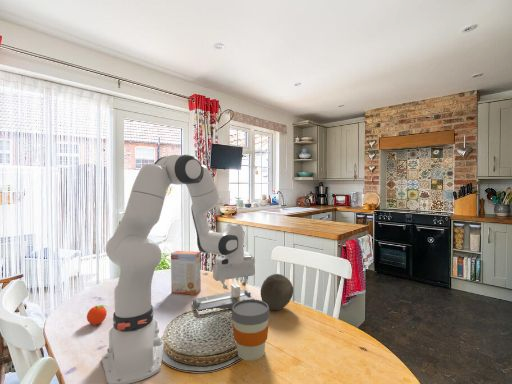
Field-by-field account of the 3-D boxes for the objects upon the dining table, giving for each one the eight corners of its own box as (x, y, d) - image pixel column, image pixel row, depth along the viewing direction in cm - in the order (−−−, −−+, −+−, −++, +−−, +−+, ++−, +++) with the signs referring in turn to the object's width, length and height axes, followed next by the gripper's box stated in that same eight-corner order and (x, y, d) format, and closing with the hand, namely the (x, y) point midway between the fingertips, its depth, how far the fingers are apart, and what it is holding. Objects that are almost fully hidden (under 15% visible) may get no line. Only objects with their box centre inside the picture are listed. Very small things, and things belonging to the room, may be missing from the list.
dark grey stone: (270, 319, 109) (269, 283, 109) (256, 305, 122) (255, 272, 122) (298, 312, 115) (298, 277, 115) (282, 299, 128) (282, 268, 128)
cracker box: (201, 290, 139) (200, 251, 139) (196, 295, 134) (195, 254, 133) (176, 288, 142) (176, 250, 142) (171, 293, 137) (170, 252, 136)
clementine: (107, 316, 113) (106, 300, 113) (111, 322, 108) (111, 305, 108) (85, 323, 107) (84, 306, 107) (89, 330, 102) (88, 311, 102)
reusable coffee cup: (239, 368, 80) (239, 319, 79) (227, 345, 91) (226, 302, 91) (276, 357, 85) (276, 311, 84) (260, 337, 96) (259, 296, 96)
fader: (240, 296, 124) (240, 286, 124) (234, 297, 123) (234, 287, 123) (236, 292, 129) (236, 283, 129) (231, 293, 128) (231, 284, 128)
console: (254, 303, 124) (254, 295, 124) (198, 315, 113) (198, 306, 113) (244, 294, 135) (244, 286, 135) (192, 304, 124) (192, 295, 123)
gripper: (251, 254, 133) (251, 281, 133) (212, 258, 124) (211, 288, 124) (257, 257, 127) (257, 285, 127) (215, 261, 118) (215, 292, 119)
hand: (234, 287), depth 126 cm, fingers open, 8 cm apart
